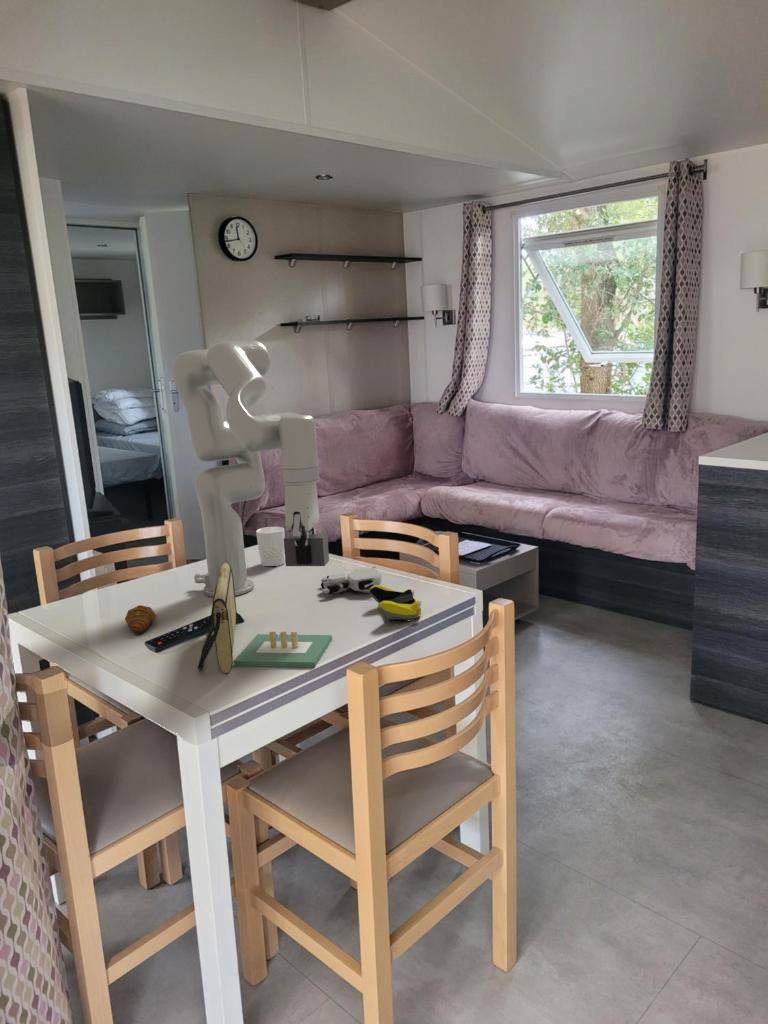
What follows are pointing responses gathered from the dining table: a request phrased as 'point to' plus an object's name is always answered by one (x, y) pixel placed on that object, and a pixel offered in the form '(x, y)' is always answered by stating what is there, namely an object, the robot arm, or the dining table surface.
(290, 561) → the block
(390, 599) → the yellow black shoe
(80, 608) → the dining table surface
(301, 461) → the robot arm
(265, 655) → the pin board
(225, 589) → the clutch purse
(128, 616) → the croissant
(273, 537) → the white cup
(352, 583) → the robot toy
